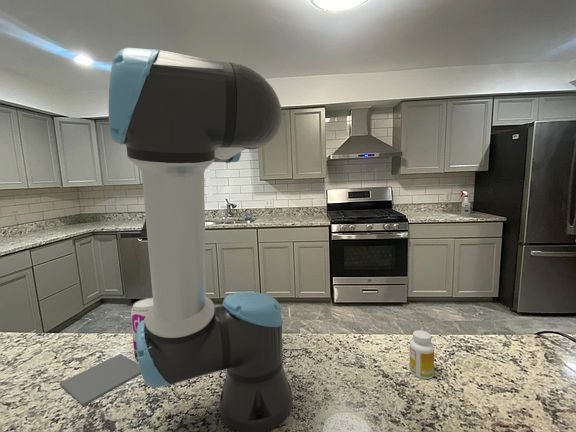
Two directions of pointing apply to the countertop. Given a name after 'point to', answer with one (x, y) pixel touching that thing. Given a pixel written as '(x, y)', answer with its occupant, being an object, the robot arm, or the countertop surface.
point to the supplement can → (139, 317)
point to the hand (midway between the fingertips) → (176, 254)
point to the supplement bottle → (422, 355)
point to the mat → (101, 379)
